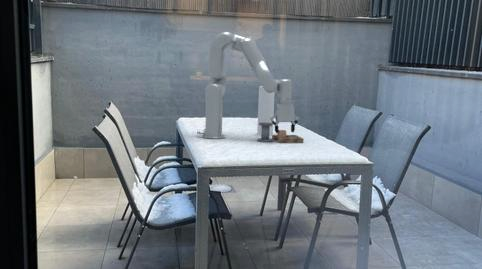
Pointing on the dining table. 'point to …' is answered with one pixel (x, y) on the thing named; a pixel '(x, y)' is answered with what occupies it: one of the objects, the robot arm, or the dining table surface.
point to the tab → (281, 133)
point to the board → (288, 139)
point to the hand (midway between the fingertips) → (284, 132)
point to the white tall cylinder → (265, 109)
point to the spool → (265, 132)
